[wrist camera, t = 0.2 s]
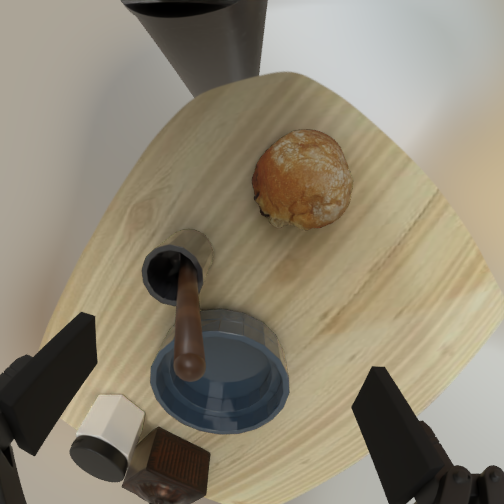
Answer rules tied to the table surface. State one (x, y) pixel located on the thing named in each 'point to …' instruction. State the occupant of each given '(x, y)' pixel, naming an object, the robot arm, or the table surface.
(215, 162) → the table surface
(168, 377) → the bowl
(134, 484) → the manual coffee grinder
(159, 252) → the holder
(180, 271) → the stick
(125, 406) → the jar
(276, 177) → the bread roll
